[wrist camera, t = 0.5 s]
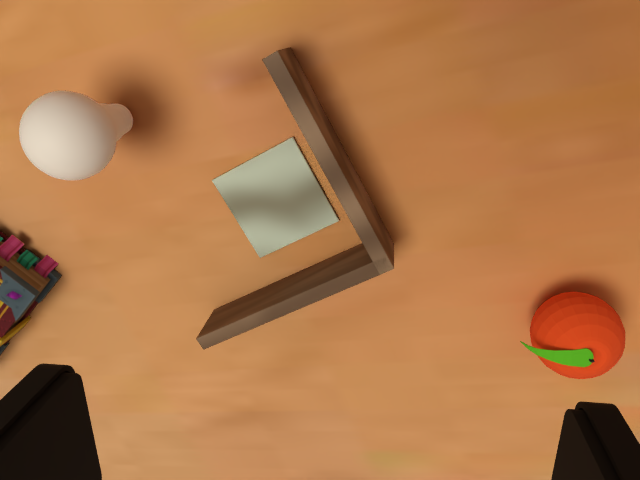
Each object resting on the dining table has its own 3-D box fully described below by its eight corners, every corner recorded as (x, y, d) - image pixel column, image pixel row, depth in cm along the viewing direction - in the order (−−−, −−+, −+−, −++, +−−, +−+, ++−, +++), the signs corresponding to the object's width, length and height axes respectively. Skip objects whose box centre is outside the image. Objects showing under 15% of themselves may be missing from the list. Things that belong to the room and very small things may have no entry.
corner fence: (110, 154, 45) (78, 169, 41) (290, 47, 40) (277, 50, 36) (220, 319, 50) (203, 349, 46) (393, 243, 45) (393, 268, 41)
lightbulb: (160, 156, 45) (93, 194, 35) (92, 150, 45) (7, 187, 35) (155, 81, 42) (81, 99, 32) (83, 77, 43) (-11, 94, 33)
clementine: (507, 347, 48) (525, 398, 41) (510, 278, 45) (530, 321, 39) (601, 346, 46) (635, 399, 40) (610, 276, 44) (648, 320, 37)
